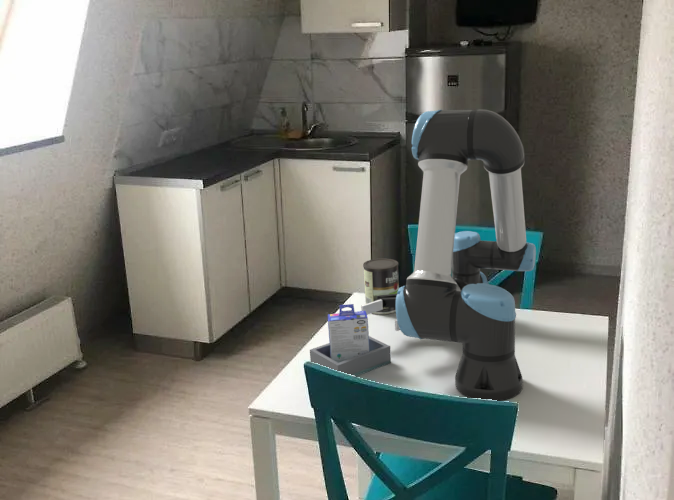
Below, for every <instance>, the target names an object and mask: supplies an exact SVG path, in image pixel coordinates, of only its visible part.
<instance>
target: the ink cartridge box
mask: <svg viewBox="0 0 674 500" xmlns="http://www.w3.org/2000/svg"><path fill="white" fill-rule="evenodd" d="M338 307H339V313H332V314H331V313H330V314H329V313H328V314H327V326H328V327H327V329H328V339H329V340H328V343H330V355H331V359H332V360H334V361H336V362H338V363H340V362H342V361H345V360H348V359H351V358H353V357H356V356H359V355H362V354H364V353H367V352H369V336H370V335H369V332H370V331H369V318H368V315H367V314H366V311H361V310H359V311H356V310H355V306H354V303H349V304H339V306H338ZM346 308H350V309H351V310H343V309H346Z"/></svg>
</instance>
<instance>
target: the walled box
mask: <svg viewBox="0 0 674 500" xmlns="http://www.w3.org/2000/svg"><path fill="white" fill-rule="evenodd" d="M309 355H310V356H309V358H310V359H309V361H310V363H311V362H314V363H318V364H320V365H323V366H326V367H329V368H331V369H334V370H337V371H341V372H344V373H347V374H351V375H355V377H357V376H360V375H363V374H365V373H367V372H370V371H373V370H375V369H378V368H381V367H383V366H386V365H388V364H391V363H392V361H391V360H392V359H391V345H389V344H386V343H385V342H383V341H380V340H378V339H376V338H374V337H372V336H370V335H369V352H367V353H364V354H362V355H359V356H356V357H353V358H351V359H348V360H345V361H342V362H340V363H338V362H336V361H334V360H332V359H331V355H330V343H329V342H328V343H326V344H322V345H320V346H317V347H314V348H311V349H309Z"/></svg>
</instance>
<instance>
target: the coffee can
mask: <svg viewBox="0 0 674 500" xmlns="http://www.w3.org/2000/svg"><path fill="white" fill-rule="evenodd" d="M362 264H363V265H362V267H363V277H364V278H363V279H364V280H363V282H364V294H365V295H364V298H365V301H364V302H365V304H368V303H371V302H374V301H377V296H378V295H387V294H396V293H397V292H398V289H399V288H400V287H399V286H400V285H399V284H400V283H399V261H397V260H396V259H392V258H385V257H384V258H373V259H369V260H366V261H365V262H363V263H362ZM393 313H394V314H395V313H396V307H395V308H383V310H380V311H377V312H374V313H371V314H373V315H379V316H381V315H382V316H383V315H390V314H393Z"/></svg>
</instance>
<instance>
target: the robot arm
mask: <svg viewBox="0 0 674 500" xmlns="http://www.w3.org/2000/svg"><path fill="white" fill-rule="evenodd" d="M411 145H412V147H411V153H412V154H411V155H412V156H413V159H415V160H417V166H418V167H419V169H421V171H422V173H423V176H422V177H423V178H422V185H421V186H422V187H421V197H420V207H419V217H418V229H417V236H416V237H417V240H416V250H415V258H414V260H415V261H414V270H413V272H412V273H411V274H410V275H409V276H407V278H406V282H405V285H403V286H401V287H399V289H398V292H397V293H396V294H387V295H378V296H377V301H374V302H371V303H368V304H366V303H365V304H362V305H361V306H360V308H361V310H360V311H366V314H367V316H368V315H371V314H372V313H374V312H377V311H380V310H383V308H395V307H396V312H395V316H396V319H394V331H396V332H399V331H400V332H401V333H402V334H403V336H406V337H409V338H415V339H418V340H419V339H420V340H430V341H440V342H441V341H442V342H451V343H461V345H462V354H461V357H460V361H459V364H458V367H457V370H456V372H455V376H454V383H455V384H454V385H455V388H456V389H457V391H458V392H459V393H460V394H462V395H463V396H466V397H468V398H470V397H471V398H470V399H473V398H481V399H492V400H498V401H504V400H508V399H511V398H514V397H516V396H517V395H519V394H520V393H521V392H522V390H523V376H522V375H523V374H522V372H521V370H520V366H519V363H518V361H517V358H516V357H517V356H516V318H517V312H516V304H515V303H516V302H515V297H514V296H513V295H512V294H511V293H510V291H507V289H505V288H503V287H500V286H498V285H494V284H490V283H489V281H488V280H487V276H486V275H485V273H483V272H482V271H481V269H487V270H498V271H499V270H501V271H512V272H531V271H533V270H534V269H535V265H536V257H537V248H536V245H535V244H534V243H532V242H528V241H527V232H526V231H527V230H526V219H525V209H524V208H525V206H524V193H523V179H522V168H523V167H524V165H525V149H524V145H523V143H522V140H521V139H520V136H519V134H518V133H517V131H516V130H515V128H514V126H512V124H510V122H509V121H508V120H507V119H505V118H504V117H503V116H502V115H501V114H499V113H497V112H495V111H492V110H488V109H438V110H430V111H429V110H428V111H424V112H423V113H421V114H420V115H419V116H418V118H417V119H416V122H415V123H414V126H413V130H412V136H411ZM469 161H482V162H483V163H482V165H483V168H484V170H486V172H488V178H489V187H490V194H491V204H492V212H493V214H492V215H493V221H494V229H495V239H496V241H495V240H493V241H492V240H481V236H480V234H479V232H477V231H471V230H463V231H459V232H456V226H457V225H456V224H457V212H458V202H459V201H458V200H459V191H460V179H461V175H462V174H463V173H465V172H466V171H467V170H468V165H469V164H468V163H469Z"/></svg>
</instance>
